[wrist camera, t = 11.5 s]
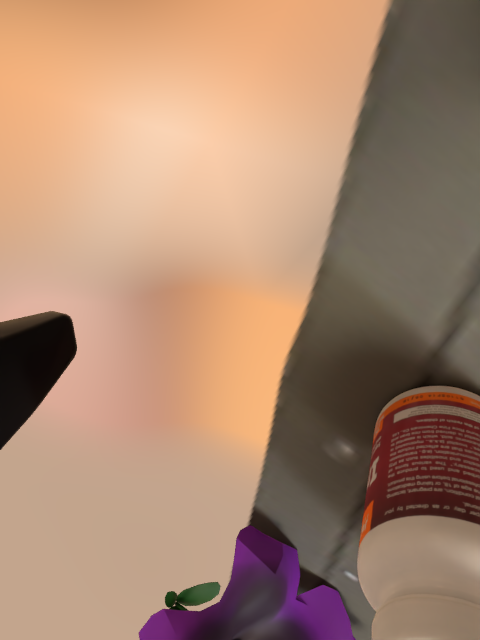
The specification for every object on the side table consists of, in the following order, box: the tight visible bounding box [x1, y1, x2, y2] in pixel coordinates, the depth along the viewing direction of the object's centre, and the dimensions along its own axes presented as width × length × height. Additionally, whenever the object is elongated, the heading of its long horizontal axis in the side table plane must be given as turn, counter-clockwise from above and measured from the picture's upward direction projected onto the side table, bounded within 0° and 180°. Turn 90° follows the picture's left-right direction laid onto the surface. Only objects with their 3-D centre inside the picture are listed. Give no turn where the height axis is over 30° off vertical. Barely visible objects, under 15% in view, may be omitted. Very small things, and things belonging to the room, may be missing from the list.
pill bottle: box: [357, 386, 480, 640], centre depth 17 cm, size 6×6×11 cm
